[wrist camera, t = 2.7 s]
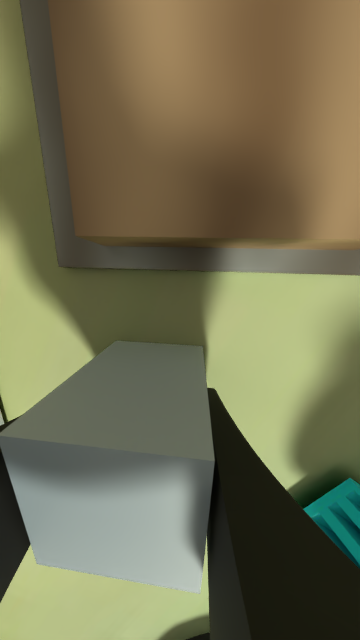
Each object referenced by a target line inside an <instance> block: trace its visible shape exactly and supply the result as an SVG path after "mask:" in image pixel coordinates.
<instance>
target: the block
mask: <svg viewBox="0 0 360 640" xmlns="http://www.w3.org/2000/svg"><path fill="white" fill-rule="evenodd" d="M0 447H1V450H2V454H3V457H4V460H5V463H6V466H7V470H8V473H9V476H10V479H11V482H12V486H13V489H14V492H15V495H16V498H17V502H18V505H19V508H20V511H21V514H22V518H23V521H24V524H25V527H26V530H27V534H28V537H29V540H30V543H31V547H32V550H33V553H34V556H35V559H36V563H37V564H40V565H45V566H50V567H56V568H61V569H67V570H72V571H78V572H83V573H89V574H94V575H100V576H105V577H111V578H116V579H122V580H127V581H133V582H138V583H143V584H149V585H154V586H160V587H165V588H171V589H176V590H182V591H187V592H193V593H198V594H200V591H201V582H202V573H203V564H204V554H205V545H206V536H207V527H208V518H209V509H210V500H211V491H212V482H213V472H214V463H215V459H214V449H213V440H212V430H211V420H210V411H209V401H208V392H207V382H206V372H205V363H204V353H203V346H194V345H178V344H162V343H147V342H131V341H115V342H114V343H112V344H111V345H110V346H108V347H107V348H106V349H105V350H103V351H102V352H101V353H100V354H98V355H97V356H96V357H95V358H93V359H92V360H91V361H90V362H88V363H87V364H86V365H85V366H83V367H82V368H81V369H80V370H78V371H77V372H76V373H75V374H73V375H72V376H71V377H70V378H68V379H67V380H66V381H64V382H63V383H62V384H61V385H59V386H58V387H57V388H56V389H54V390H53V391H52V392H51V393H49V394H48V395H47V396H46V397H44V398H43V399H42V400H41V401H39V402H38V403H37V404H36V405H34V406H33V407H32V408H31V409H29V410H28V411H27V412H25V413H24V414H23V415H22V416H20V417H19V418H18V419H17V420H15V421H14V422H13V423H12V424H10V425H9V426H8V427H7V428H5V429H4V430H3V431H2V432H0Z"/></svg>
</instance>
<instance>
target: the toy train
mask: <svg viewBox="0 0 360 640" xmlns="http://www.w3.org/2000/svg"><path fill="white" fill-rule="evenodd" d="M303 510H304V511H305V512H306V513H307V514H308V515H309V516H310V517H311V518H312V519H313V521H314V522H315V523H316V524H317V525H318V526H319V527H320V528H321V529H322V530H323V531H324V532H325V534H326V535H327V536H328V537H329V538H330V539H331V540H332V541H333V542H334V543H335V544H336V545H337V546H338V547H339V548H340V549H341V550H342V552H343V553H344V554H345V555H346V556H347V557H348V558H349V559H350V560H351V561H352V562H353V563H354V564H355V565H356V566H357V567H358V568H359V569H360V484H359V483H357V482H355V481H354V480H352V479H351V478H349V479H347V480H346V481H344V482H343V483H341V484H340V485H338V486H337V487H335V488H334V489H332V490H331V491H329V492H328V493H326V494H325V495H323V496H322V497H320V498H319V499H317V500H316V501H315V502H313V503H312V504H310V505H309V506H307V507H306V508H304V509H303Z"/></svg>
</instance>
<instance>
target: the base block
mask: <svg viewBox="0 0 360 640" xmlns="http://www.w3.org/2000/svg"><path fill="white" fill-rule="evenodd" d="M20 6H21V12H22V19H23V26H24V33H25V40H26V46H27V53H28V60H29V67H30V74H31V80H32V87H33V94H34V101H35V108H36V115H37V121H38V128H39V135H40V142H41V149H42V155H43V162H44V169H45V176H46V183H47V190H48V196H49V203H50V210H51V217H52V224H53V230H54V237H55V244H56V251H57V258H58V264H59V267H79V268H115V269H151V270H187V271H223V272H259V273H295V274H331V275H360V0H20Z"/></svg>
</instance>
